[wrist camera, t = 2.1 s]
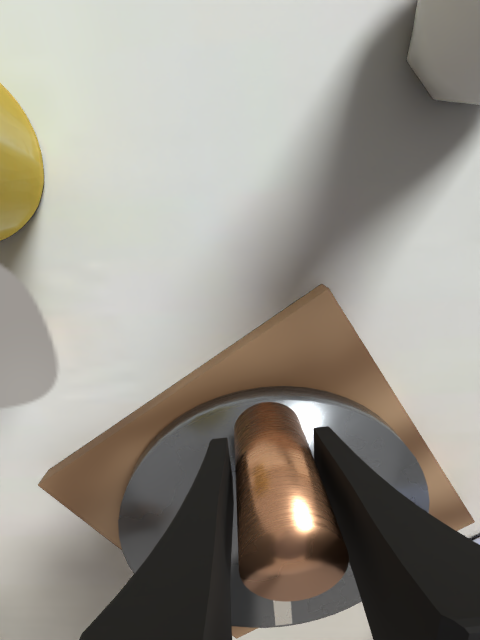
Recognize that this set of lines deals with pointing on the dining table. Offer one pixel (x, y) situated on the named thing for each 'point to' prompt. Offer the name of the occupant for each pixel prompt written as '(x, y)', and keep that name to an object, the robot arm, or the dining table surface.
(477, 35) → the salt shaker
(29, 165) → the plant pot
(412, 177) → the dining table surface
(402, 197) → the dining table surface
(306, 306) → the base
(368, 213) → the dining table surface
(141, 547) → the crank wheel
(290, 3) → the dining table surface
